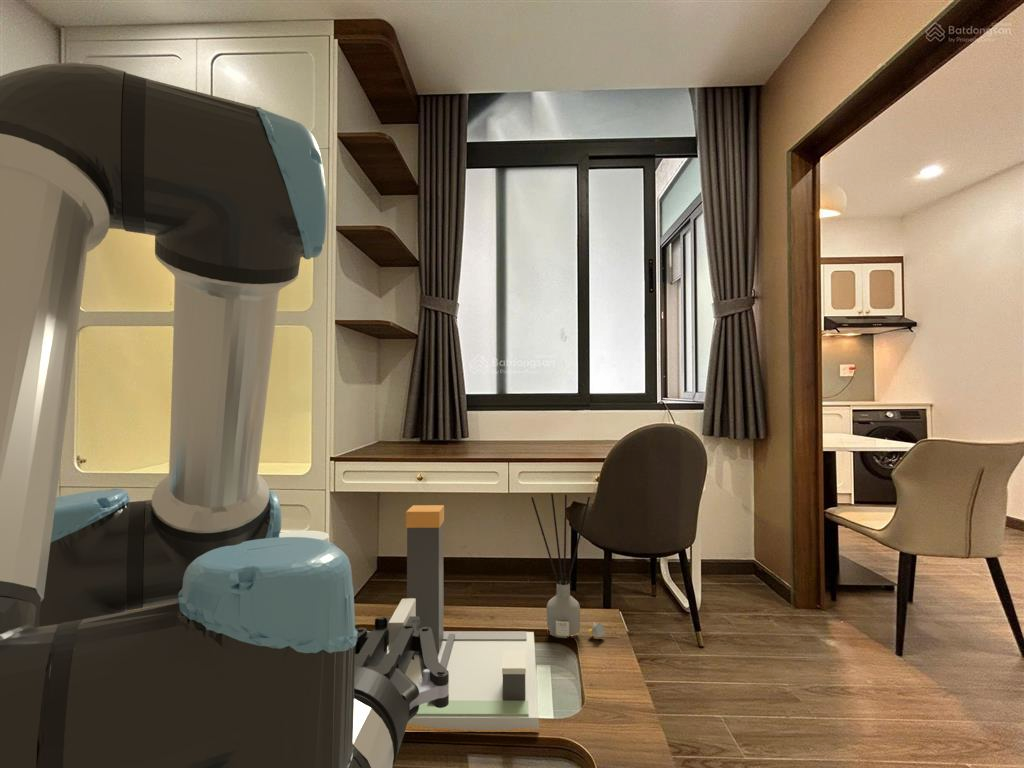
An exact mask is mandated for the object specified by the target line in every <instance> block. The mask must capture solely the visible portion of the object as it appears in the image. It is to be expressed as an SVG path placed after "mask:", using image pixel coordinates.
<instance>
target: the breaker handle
mask: <svg viewBox="0 0 1024 768" xmlns="http://www.w3.org/2000/svg"><path fill="white" fill-rule="evenodd" d="M405 513H406V514H405V521H406V522H405V528H406V598H416V616H419V617H420V628H422V627H430V628H431V629H432V633H433V637H434V642H435V647H436V652H437V653H439V651H440V648H441V645H442V642H443V631H444V521H445V505H444V504H443V505H442V504H439V505H437V504H435V505H433V504H432V505H430V504H428V505H426V504H424V505H423V504H422V505H421V504H418V505H417V504H414V505H411V507H409V508H408V509H407V510H406V512H405ZM414 653H419V652H416V651H414Z"/></svg>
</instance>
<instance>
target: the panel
mask: <svg viewBox="0 0 1024 768" xmlns="http://www.w3.org/2000/svg"><path fill="white" fill-rule="evenodd" d="M367 632H371V630H370V631H369V630H367ZM535 646H536V645H535V633H534V631H525V630H523V631H522V630H521V631H515V630H514V631H513V630H512V631H506V630H505V631H504V630H503V631H498V630H497V631H491V630H490V631H489V630H488V631H487V630H486V631H479V630H478V631H477V630H475V631H473V630H472V631H470V630H469V631H466V630H465V631H463V630H459V631H455V630H453V631H451V630H450V631H447V630H446V631H445V630H443V642H442V645H441V648H440V651H439V653H437V656H438V661H439V663H440V664H441V665H442V666H443V667H444V668H445V669H447V670H448V672H449V704H448V705H447V706H446V707H443V708H437V707H435V706H434V705H433V704H432V703H431V702H430V701H429V702H428V703H423V704H420V705H419V710H418V712H417V714H416V715H415V716H414V717H413V718H411V719H410V720H409V721H408V723H407V724H413V725H414V724H415V725H423V726H427V727H437V728H449V729H464V730H466V729H470V730H503V731H505V730H509V729H518V728H534V729H539V730H540V726H539V725H540V719H539V718H540V717H539V715H540V714H539V701H538V700H539V699H538V683H537V682H538V681H537V667H536V649H535ZM388 653H389V651H388V647H387V654H388ZM405 675H406V676H407V677H408V678H409V679H410V680H411V681H412V682H413V683H415V684H416V686H418V685H419V679H420V678H422V674H421V667H420V660H419V653H414V660H413V659H411V661H410V664H409V666H408V669H407V671H406V673H405Z"/></svg>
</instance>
